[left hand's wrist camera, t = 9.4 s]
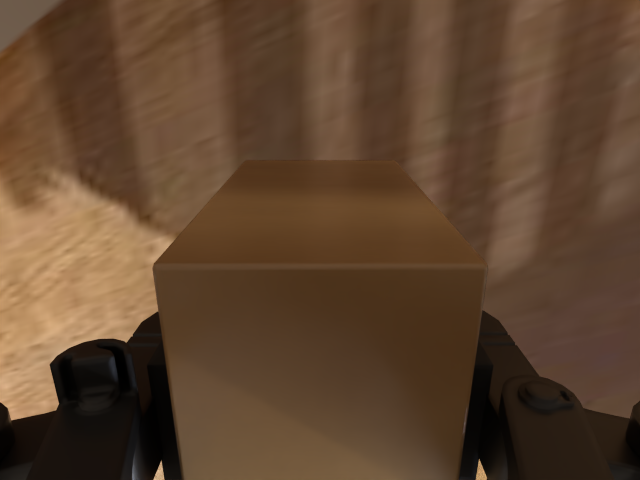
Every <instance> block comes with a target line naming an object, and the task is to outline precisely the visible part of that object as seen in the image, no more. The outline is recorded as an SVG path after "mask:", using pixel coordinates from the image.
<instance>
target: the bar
mask: <svg viewBox="0 0 640 480" xmlns="http://www.w3.org/2000/svg"><path fill="white" fill-rule="evenodd" d="M487 273H488V266H487V263H486V262H485V261H484V260H483V259H482V258H481V257H480V255H479V254H478V253H477V252H476V251H475V250H474V249H473V248H472V246H471V245H470V244H469V243H468V242H467V241H466V240H465V239H464V237H463V236H462V235H461V234H460V233H459V232H458V231H457V230H456V228H455V227H454V226H453V225H452V224H451V223H450V222H449V221H448V219H447V218H446V217H445V216H444V215H443V214H442V213H441V212H440V211H439V209H438V208H437V207H436V206H435V205H434V204H433V203H432V202H431V200H430V199H429V198H428V197H427V196H426V195H425V194H424V193H423V191H422V190H421V189H420V188H419V187H418V186H417V185H416V184H415V182H414V181H413V180H412V179H411V178H410V177H409V176H408V175H407V173H406V172H405V171H404V170H403V169H402V168H401V167H400V166H399V164H398V163H397V162H396V161H394V160H246V161H244V162H243V164H242V165H241V166H240V167H239V168H238V169H237V170H236V171H235V173H234V174H233V175H232V176H231V177H230V178H229V179H228V180H227V182H226V183H225V184H224V185H223V186H222V187H221V188H220V190H219V191H218V192H217V193H216V194H215V195H214V196H213V197H212V199H211V200H210V201H209V202H208V203H207V204H206V205H205V206H204V208H203V209H202V210H201V211H200V212H199V213H198V214H197V216H196V217H195V218H194V219H193V220H192V221H191V222H190V223H189V225H188V226H187V227H186V228H185V229H184V230H183V231H182V232H181V234H180V235H179V236H178V237H177V238H176V239H175V240H174V242H173V243H172V244H171V245H170V246H169V247H168V248H167V249H166V251H165V252H164V253H163V254H162V255H161V256H160V257H159V258H158V260H157V261H156V262H155V263H154V265H153V275H154V282H155V289H156V296H157V304H158V311H159V318H160V325H161V332H162V340H163V347H164V354H165V361H166V368H167V376H168V383H169V390H170V397H171V404H172V412H173V419H174V426H175V433H176V440H177V448H178V455H179V462H180V469H181V476H182V480H459V473H460V466H461V459H462V452H463V445H464V438H465V430H466V423H467V416H468V409H469V402H470V395H471V387H472V380H473V373H474V366H475V359H476V352H477V344H478V337H479V330H480V323H481V316H482V309H483V302H484V294H485V287H486V280H487Z"/></svg>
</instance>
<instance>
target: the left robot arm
mask: <svg viewBox="0 0 640 480" xmlns="http://www.w3.org/2000/svg"><path fill="white" fill-rule="evenodd" d="M50 368H51V372H52V376H53V380H54V384H55V389H56V393H57V397H58V401H59V405H58V408H57V410H56V411H52V412H48V413H45V414H40V415H35V416H31V417H26V418H21V419H16V420H12V421H11V418H10V415H9V411H8V408H7V407H5V406H4V405H3V404H2V403H0V480H153V479H154V477H155V474H156V472H157V469H158V467H159V464H160V462H161V460H162V466H163V472H164V479H165V480H182V476H181V469H180V462H179V455H178V448H177V440H176V433H175V426H174V419H173V412H172V404H171V397H170V390H169V383H168V376H167V368H166V361H165V354H164V347H163V340H162V332H161V325H160V318H159V312H156V313H155V314H153V315H152V316H150V317H149V318H147V319H146V320H144V321H143V322H142V323H141V324H140V325H139V327H138V328H137V329H136V331H135V332H134V334H133V337H131V338H130V339H129V341H128V342H127V343H126V342H124V341H121V340H117V339H97V340H92V341H88V342H84V343H81V344H78V345H76V346H73V347H71V348H69V349H67V350H66V351H64V352H62V353H61V354H59V355H58V356H57V357H56V358H55V359H54V360H53V361H52V362H51V364H50ZM479 459H480V461H481V464H482V466H483V469H484V471H485V473H486V476H487V480H640V401H639V402H638V403H637V404H636V405H634V406H633V409H632V413H631V416H630V419H628V418H624V417H619V416H614V415H609V414H605V413H600V412H595V411H592V410H588V409H584V408H583V407H582V405H581V403H580V401H579V400H578V399H577V397H576V396H575V395H574V393H572V392H571V391H570V390H568V389H567V388H565V387H564V386H563V385H561V384H559V383H556V382H554V381H552V380H550V379H547V378H543V377H539V375H538V374H537V372H536V371H535V370H534V368H533V367H532V366H531V364H530V363H529V361H528V360H527V359H526V357H525V356H524V355H523V353H522V352H521V351H520V349H519V348H518V346H517V345H515V342H514V341H513V340H512V338H511V337H510V335H508V333H507V331H506V330H505V329H504V327H503V326H502V324H501V323H500V322H499V321H498V320H497V319H495V318H494V317H492V316H491V315H489V314H488V313H486V312H485V311H483V310H482V316H481V323H480V330H479V337H478V344H477V352H476V359H475V366H474V373H473V380H472V387H471V395H470V402H469V409H468V416H467V423H466V430H465V438H464V445H463V452H462V459H461V466H460V473H459V480H476V474H477V468H478V461H479Z"/></svg>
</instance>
